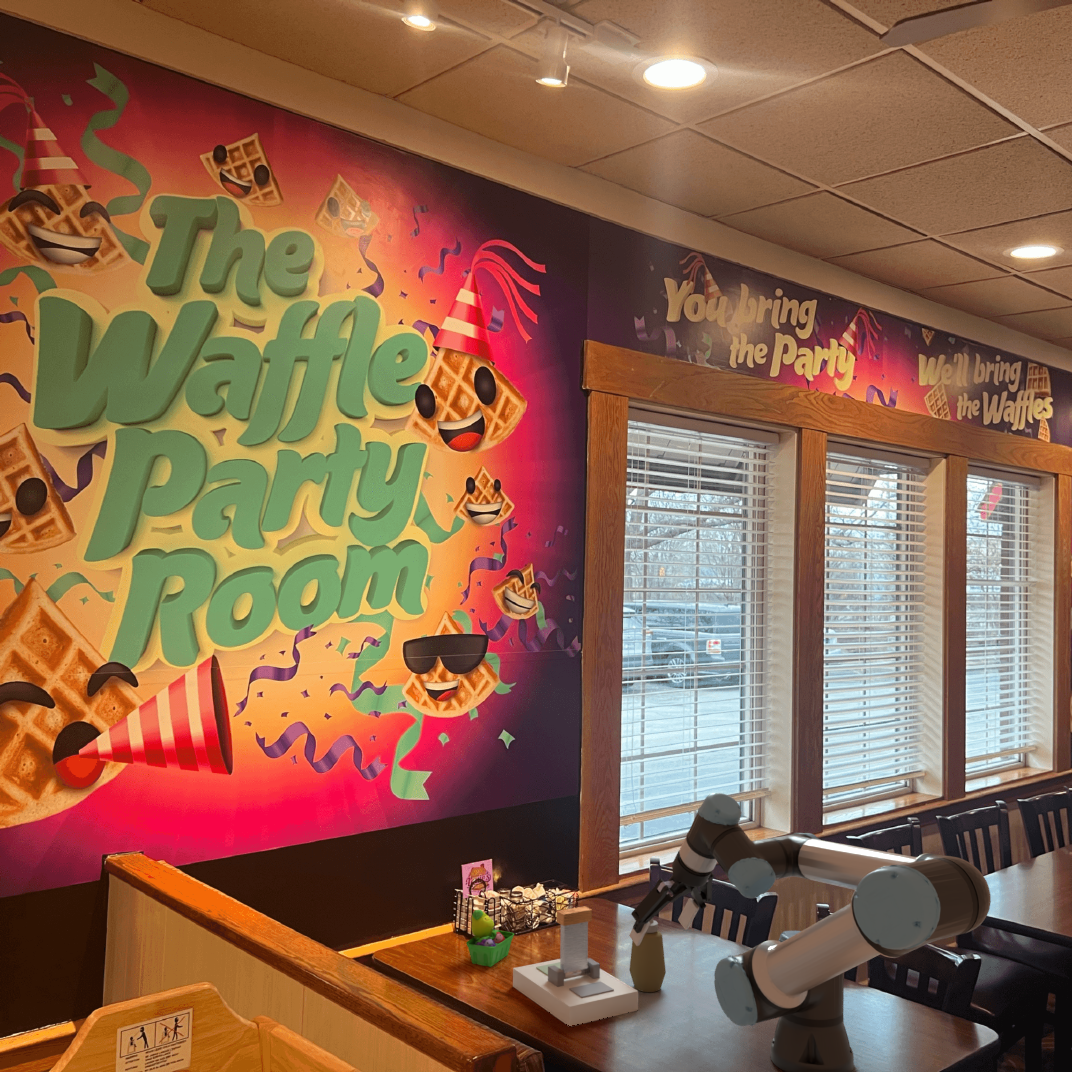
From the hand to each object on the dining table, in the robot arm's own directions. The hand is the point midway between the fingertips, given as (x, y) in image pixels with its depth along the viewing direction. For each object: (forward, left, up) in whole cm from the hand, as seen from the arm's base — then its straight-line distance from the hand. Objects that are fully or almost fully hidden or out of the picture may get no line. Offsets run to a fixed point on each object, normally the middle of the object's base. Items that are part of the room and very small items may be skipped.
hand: (659, 932), depth 212 cm
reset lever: (+17, +10, -12) cm, 23 cm away
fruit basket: (+47, +15, -18) cm, 53 cm away
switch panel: (+17, +10, -17) cm, 27 cm away
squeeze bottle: (+14, -8, -18) cm, 24 cm away
